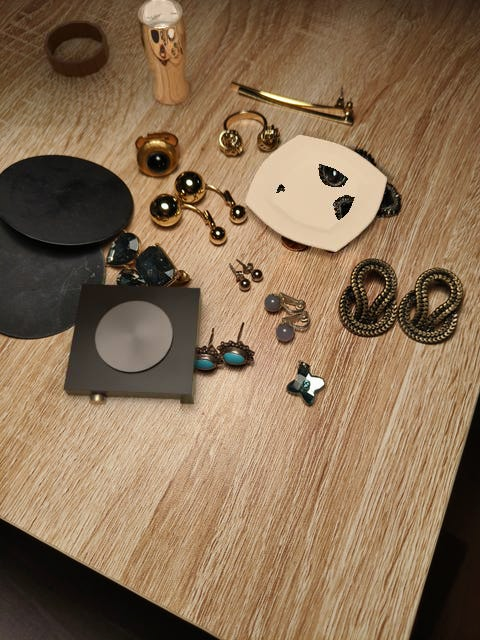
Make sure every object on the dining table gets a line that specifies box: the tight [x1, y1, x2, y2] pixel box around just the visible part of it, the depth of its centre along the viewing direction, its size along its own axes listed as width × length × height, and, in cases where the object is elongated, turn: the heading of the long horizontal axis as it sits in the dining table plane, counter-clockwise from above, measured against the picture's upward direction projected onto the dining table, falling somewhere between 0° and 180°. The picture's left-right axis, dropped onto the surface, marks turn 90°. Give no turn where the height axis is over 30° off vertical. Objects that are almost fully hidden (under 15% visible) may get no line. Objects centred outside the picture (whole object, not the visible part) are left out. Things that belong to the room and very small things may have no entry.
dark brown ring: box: [43, 19, 111, 78], centre depth 103 cm, size 10×10×3 cm
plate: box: [243, 134, 388, 253], centre depth 90 cm, size 19×19×2 cm
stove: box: [62, 283, 203, 405], centre depth 78 cm, size 16×16×4 cm
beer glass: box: [137, 0, 190, 106], centre depth 94 cm, size 7×7×15 cm
